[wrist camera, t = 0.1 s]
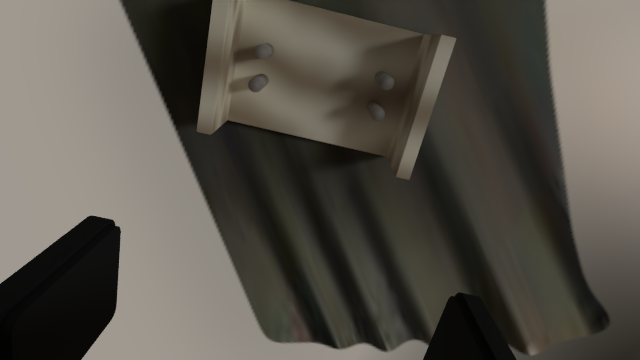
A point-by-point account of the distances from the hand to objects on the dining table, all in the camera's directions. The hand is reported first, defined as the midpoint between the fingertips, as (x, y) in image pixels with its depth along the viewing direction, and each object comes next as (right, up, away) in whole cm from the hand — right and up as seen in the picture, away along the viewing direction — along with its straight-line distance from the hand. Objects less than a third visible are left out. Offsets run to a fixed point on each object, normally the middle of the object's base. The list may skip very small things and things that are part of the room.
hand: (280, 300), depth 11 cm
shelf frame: (+1, +14, +28) cm, 31 cm away
